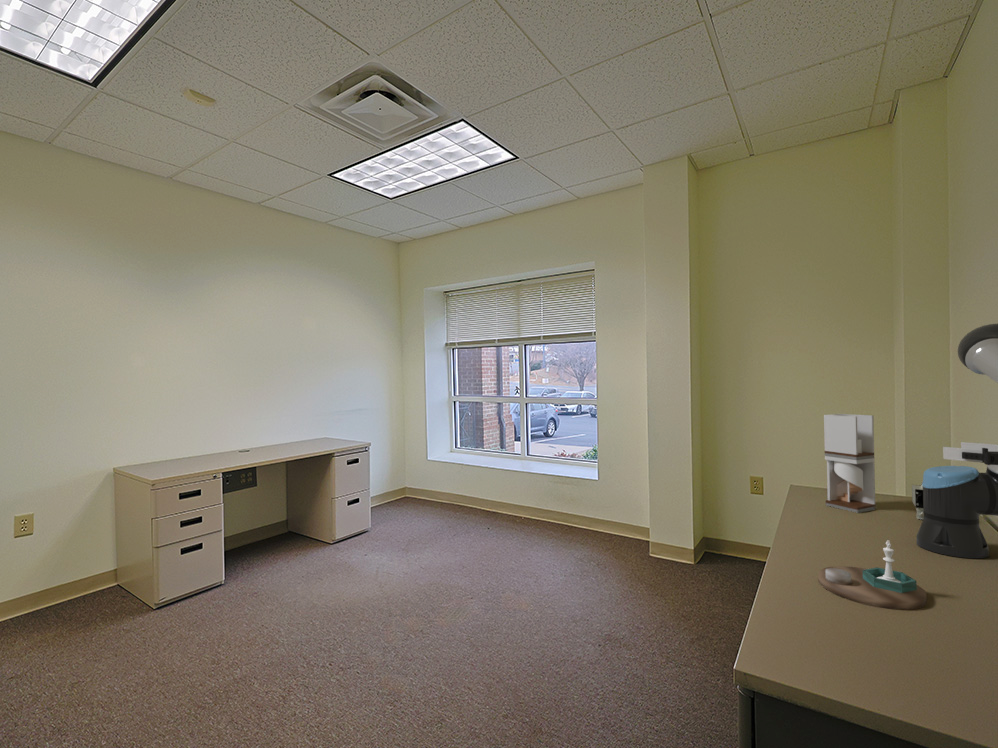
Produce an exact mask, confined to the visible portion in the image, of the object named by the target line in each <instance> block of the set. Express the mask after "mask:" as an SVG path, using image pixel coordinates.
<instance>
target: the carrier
mask: <svg viewBox="0 0 998 748" xmlns="http://www.w3.org/2000/svg"><path fill="white" fill-rule="evenodd" d="M884 574H885V568H883V567H882V568H881V567H878V566H877V567H871V568H864V567H858V566H857V567H856V566H845V565H844V566H842V565H841V566H840V565H839V566H838V565H837V566H828V567H824V568H822V569H820V570H819V571H818V573H817V575H818V576H817V579H818V583H819V585H820V584H821V585H822V586H823V587H822V586H821V585H820V586H821V587H822V588H824V589H827V591H828V592H830V593H831V594H833V595H836V596H838V595H839V596H838V597H840V596H841V598H843V599H845V598H846V600H849V601H852V602H855V603H857V604H858V603H859V604H862V605H865V606H870V607H876V608H881V609H882V608H883V609H890V610H903V611H904V610H916V609H920V608H923V607H925V606H926V605H927V602H928V599H927V598H928V597H927V596H928V595H927V592H926V591H925V589H923V588H922V587H921V586H919V585H918V584H917V580H915V579H914V578H913V577H912V576H910V575H908V574H906V573H904V572H902V571H898V570H893V575H894V577H895V579H897V580H899V581H901V583H899V582H894V581H889V580H884V579H879V578H877V577H882V576H883V575H884Z"/></svg>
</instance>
